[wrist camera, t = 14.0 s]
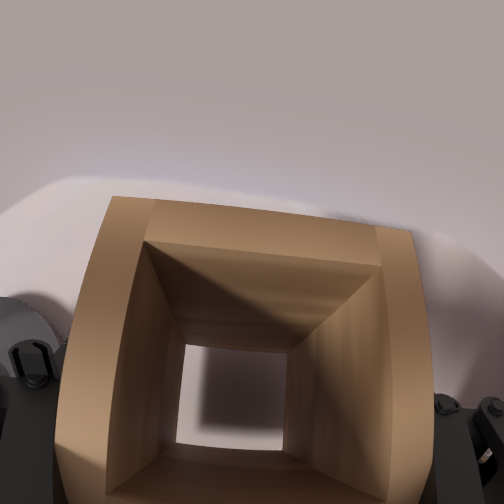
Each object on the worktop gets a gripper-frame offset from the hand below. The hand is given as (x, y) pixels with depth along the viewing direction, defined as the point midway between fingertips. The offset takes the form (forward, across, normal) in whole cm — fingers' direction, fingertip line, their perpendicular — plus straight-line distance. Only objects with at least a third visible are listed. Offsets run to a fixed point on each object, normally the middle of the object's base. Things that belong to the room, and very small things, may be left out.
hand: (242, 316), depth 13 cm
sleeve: (0, 0, -5) cm, 5 cm away
